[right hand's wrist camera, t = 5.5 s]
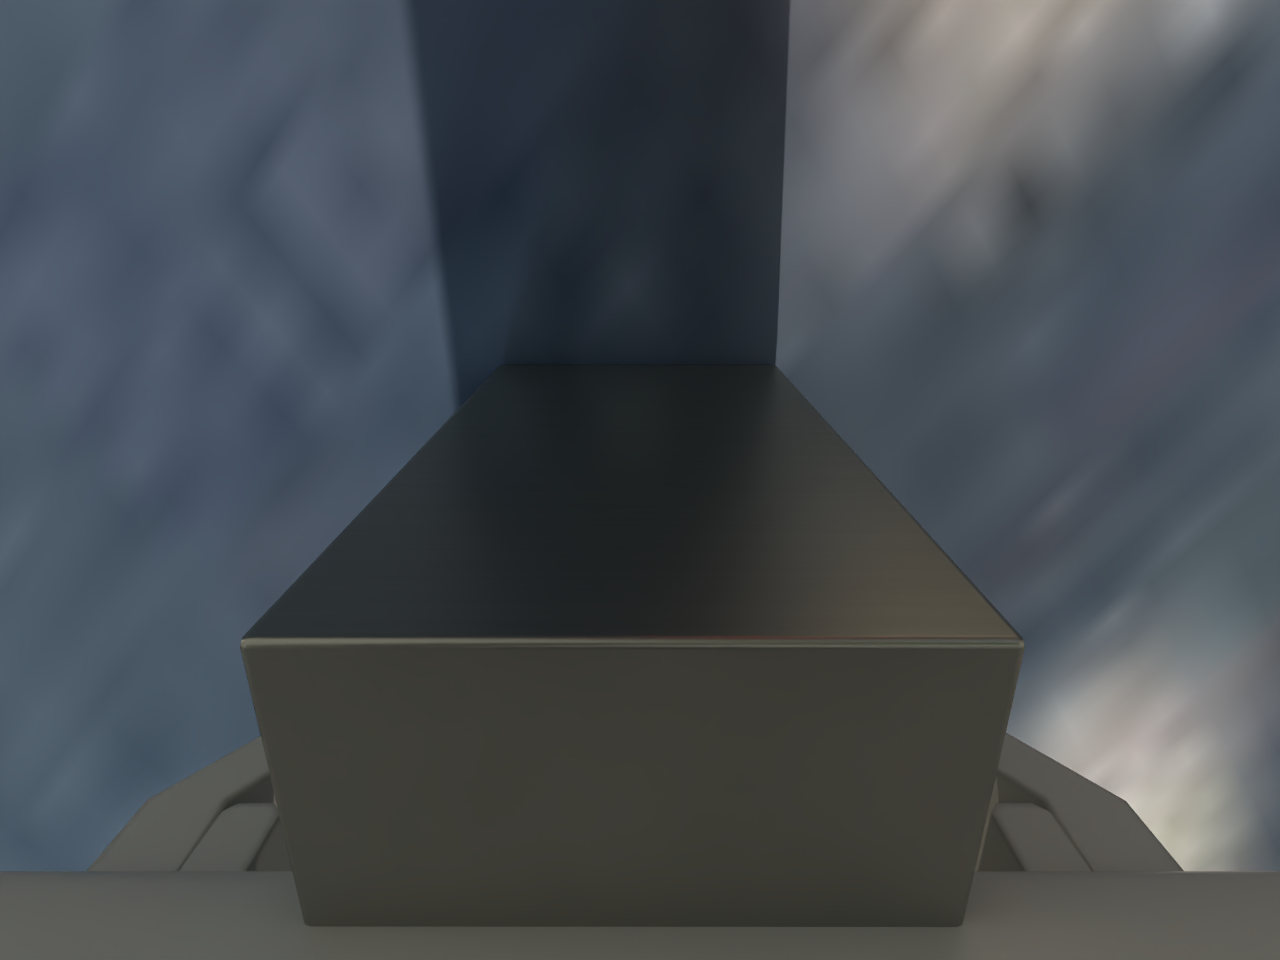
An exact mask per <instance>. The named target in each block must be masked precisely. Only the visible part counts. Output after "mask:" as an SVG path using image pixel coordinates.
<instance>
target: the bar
mask: <svg viewBox="0 0 1280 960" xmlns="http://www.w3.org/2000/svg"><path fill="white" fill-rule="evenodd" d="M240 649H241V653H242V658H243V662H244V666H245V670H246V675H247V679H248V683H249V688H250V692H251V696H252V700H253V705H254V709H255V713H256V717H257V722H258V726H259V730H260V735H261V739H262V743H263V747H264V752H265V756H266V760H267V765H268V769H269V773H270V777H271V782H272V786H273V790H274V795H275V799H276V803H277V807H278V812H279V816H280V820H281V824H282V829H283V833H284V837H285V842H286V846H287V850H288V854H289V859H290V863H291V867H292V872H293V876H294V880H295V884H296V889H297V893H298V897H299V902H300V906H301V910H302V914H303V919H304V923H305V925H308V926H349V927H958V926H961V925H962V924H963V920H964V915H965V911H966V906H967V902H968V897H969V893H970V888H971V884H972V880H973V875H974V871H975V866H976V862H977V857H978V853H979V848H980V844H981V840H982V835H983V831H984V826H985V822H986V817H987V813H988V808H989V804H990V800H991V795H992V791H993V786H994V782H995V777H996V773H997V768H998V764H999V760H1000V755H1001V751H1002V746H1003V742H1004V737H1005V733H1006V728H1007V724H1008V720H1009V715H1010V711H1011V706H1012V702H1013V697H1014V693H1015V688H1016V684H1017V680H1018V675H1019V671H1020V666H1021V662H1022V657H1023V653H1024V642H1023V639H1022V637H1021V636H1020V635H1019V633H1018V632H1017V631H1016V630H1015V629H1014V628H1013V627H1012V626H1011V625H1010V624H1009V622H1008V621H1007V620H1006V619H1005V618H1004V617H1003V616H1002V615H1001V614H1000V613H999V611H998V610H997V609H996V608H995V607H994V606H993V605H992V604H991V603H990V601H989V600H988V599H987V598H986V597H985V596H984V595H983V594H982V593H981V592H980V590H979V589H978V588H977V587H976V586H975V585H974V584H973V583H972V582H971V581H970V579H969V578H968V577H967V576H966V575H965V574H964V573H963V572H962V571H961V569H960V568H959V567H958V566H957V565H956V564H955V563H954V562H953V561H952V560H951V558H950V557H949V556H948V555H947V554H946V553H945V552H944V551H943V550H942V548H941V547H940V546H939V545H938V544H937V543H936V542H935V541H934V540H933V539H932V537H931V536H930V535H929V534H928V533H927V532H926V531H925V530H924V529H923V528H922V526H921V525H920V524H919V523H918V522H917V521H916V520H915V519H914V518H913V516H912V515H911V514H910V513H909V512H908V511H907V510H906V509H905V508H904V507H903V505H902V504H901V503H900V502H899V501H898V500H897V499H896V498H895V497H894V496H893V494H892V493H891V492H890V491H889V490H888V489H887V488H886V487H885V486H884V484H883V483H882V482H881V481H880V480H879V479H878V478H877V477H876V476H875V475H874V473H873V472H872V471H871V470H870V469H869V468H868V467H867V466H866V465H865V464H864V462H863V461H862V460H861V459H860V458H859V457H858V456H857V455H856V454H855V452H854V451H853V450H852V449H851V448H850V447H849V446H848V445H847V444H846V443H845V441H844V440H843V439H842V438H841V437H840V436H839V435H838V434H837V433H836V431H835V430H834V429H833V428H832V427H831V426H830V425H829V424H828V423H827V422H826V420H825V419H824V418H823V417H822V416H821V415H820V414H819V413H818V412H817V411H816V409H815V408H814V407H813V406H812V405H811V404H810V403H809V402H808V401H807V399H806V398H805V397H804V396H803V395H802V394H801V393H800V392H799V391H798V390H797V388H796V387H795V386H794V385H793V384H792V383H791V382H790V381H789V380H788V379H787V377H786V376H785V375H784V374H783V373H782V372H781V371H780V370H779V369H778V367H777V366H775V365H501V366H499V367H498V368H497V369H496V370H495V371H494V372H493V373H492V374H491V375H490V376H489V377H488V378H487V380H486V381H485V382H484V383H483V384H482V385H481V386H480V387H479V388H478V389H477V390H476V391H475V392H474V393H473V394H472V395H471V396H470V397H469V399H468V400H467V401H466V402H465V403H464V404H463V405H462V406H461V407H460V408H459V409H458V410H457V411H456V412H455V413H454V414H453V415H452V417H451V418H450V419H449V420H448V421H447V422H446V423H445V424H444V425H443V426H442V427H441V428H440V429H439V430H438V431H437V432H436V433H435V434H434V436H433V437H432V438H431V439H430V440H429V441H428V442H427V443H426V444H425V445H424V446H423V447H422V448H421V449H420V450H419V451H418V452H417V453H416V455H415V456H414V457H413V458H412V459H411V460H410V461H409V462H408V463H407V464H406V465H405V466H404V467H403V468H402V469H401V470H400V471H399V472H398V474H397V475H396V476H395V477H394V478H393V479H392V480H391V481H390V482H389V483H388V484H387V485H386V486H385V487H384V488H383V489H382V490H381V491H380V493H379V494H378V495H377V496H376V497H375V498H374V499H373V500H372V501H371V502H370V503H369V504H368V505H367V506H366V507H365V508H364V509H363V510H362V512H361V513H360V514H359V515H358V516H357V517H356V518H355V519H354V520H353V521H352V522H351V523H350V524H349V525H348V526H347V527H346V528H345V529H344V531H343V532H342V533H341V534H340V535H339V536H338V537H337V538H336V539H335V540H334V541H333V542H332V543H331V544H330V545H329V546H328V547H327V548H326V550H325V551H324V552H323V553H322V554H321V555H320V556H319V557H318V558H317V559H316V560H315V561H314V562H313V563H312V564H311V565H310V566H309V568H308V569H307V570H306V571H305V572H304V573H303V574H302V575H301V576H300V577H299V578H298V579H297V580H296V581H295V582H294V583H293V584H292V585H291V587H290V588H289V589H288V590H287V591H286V592H285V593H284V594H283V595H282V596H281V597H280V598H279V599H278V600H277V601H276V602H275V603H274V604H273V606H272V607H271V608H270V609H269V610H268V611H267V612H266V613H265V614H264V615H263V616H262V617H261V618H260V619H259V620H258V621H257V622H256V623H255V625H254V626H253V627H252V628H251V629H250V630H249V631H248V632H247V633H246V634H245V635H244V636H243V638H242V641H241V646H240Z"/></svg>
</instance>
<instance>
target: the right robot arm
mask: <svg viewBox="0 0 1280 960" xmlns="http://www.w3.org/2000/svg"><path fill="white" fill-rule="evenodd" d="M0 960H1280V871H1183V869H1182V868H1181V867H1180V866H1179V865H1178V863H1177V862H1176V861H1175V860H1174V859H1173V857H1172V856H1171V855H1170V854H1169V853H1168V851H1167V850H1166V849H1165V848H1164V847H1163V845H1162V844H1161V843H1160V842H1159V840H1158V839H1157V838H1156V837H1155V836H1154V834H1153V833H1152V832H1151V831H1150V830H1149V828H1148V827H1147V826H1146V825H1145V824H1144V822H1143V821H1142V820H1141V819H1140V818H1139V816H1138V815H1137V814H1136V813H1135V812H1134V810H1133V809H1132V808H1131V807H1130V806H1129V804H1128V803H1127V802H1126V801H1125V800H1123V799H1121V798H1119V797H1118V796H1116V795H1114V794H1112V793H1111V792H1109V791H1107V790H1105V789H1104V788H1102V787H1100V786H1098V785H1097V784H1095V783H1093V782H1091V781H1090V780H1088V779H1086V778H1084V777H1083V776H1081V775H1079V774H1077V773H1076V772H1074V771H1072V770H1070V769H1069V768H1067V767H1065V766H1063V765H1062V764H1060V763H1058V762H1056V761H1055V760H1053V759H1051V758H1049V757H1048V756H1046V755H1044V754H1042V753H1041V752H1039V751H1037V750H1035V749H1034V748H1032V747H1030V746H1028V745H1027V744H1025V743H1023V742H1021V741H1020V740H1018V739H1016V738H1014V737H1013V736H1011V735H1009V734H1007V733H1005V737H1004V742H1003V746H1002V751H1001V755H1000V760H999V764H998V768H997V773H996V777H995V782H994V786H993V791H992V795H991V800H990V804H989V808H988V813H987V817H986V822H985V826H984V831H983V835H982V840H981V844H980V848H979V853H978V857H977V862H976V866H975V871H974V875H973V880H972V884H971V888H970V893H969V897H968V902H967V906H966V911H965V915H964V920H963V924H962V925H961V926H958V927H349V926H308V925H305V923H304V919H303V914H302V910H301V906H300V902H299V897H298V893H297V889H296V884H295V880H294V876H293V872H292V867H291V863H290V859H289V854H288V850H287V846H286V842H285V837H284V833H283V829H282V824H281V820H280V816H279V812H278V807H277V803H276V799H275V795H274V790H273V786H272V782H271V777H270V773H269V769H268V765H267V760H266V756H265V752H264V747H263V743H262V739H261V736H260V737H258V738H256V739H254V740H253V741H251V742H249V743H247V744H246V745H244V746H242V747H240V748H238V749H237V750H235V751H233V752H231V753H230V754H228V755H226V756H224V757H222V758H221V759H219V760H217V761H215V762H214V763H212V764H210V765H208V766H207V767H205V768H203V769H201V770H199V771H198V772H196V773H194V774H192V775H191V776H189V777H187V778H185V779H183V780H182V781H180V782H178V783H176V784H175V785H173V786H171V787H169V788H168V789H166V790H164V791H162V792H160V793H159V794H157V795H155V796H153V797H152V798H150V799H148V800H147V801H146V802H145V803H144V804H143V805H142V807H141V808H140V809H139V810H138V811H137V812H136V814H135V815H134V816H133V817H132V818H131V820H130V821H129V822H128V823H127V824H126V825H125V827H124V828H123V829H122V830H121V831H120V832H119V834H118V835H117V836H116V837H115V838H114V840H113V841H112V842H111V843H110V844H109V845H108V847H107V848H106V849H105V850H104V851H103V852H102V854H101V855H100V856H99V857H98V858H97V860H96V861H95V862H94V863H93V864H92V865H91V867H90V868H89V869H88V870H87V871H0Z"/></svg>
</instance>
